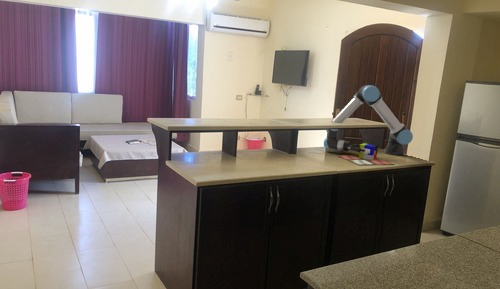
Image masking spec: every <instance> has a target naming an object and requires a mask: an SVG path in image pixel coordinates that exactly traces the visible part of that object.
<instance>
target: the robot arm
mask: <svg viewBox="0 0 500 289" xmlns="http://www.w3.org/2000/svg"><path fill="white" fill-rule="evenodd" d="M365 102H366V103H367V105H368V106H369V107H372V108H373V109H374V111H375V112H376V113H377V114H378V115H379V117H380V119H382V120H383V122H384V123H385V125H386V126H387V127H388V129H389V133H388V134H389V136H388V143H387V145H386V147H385V149H384V153H385V154H388V155H393V156H405V152H406V150H405V146H406V145H408V144H410V143H411V142H412V141H413V137H414V134H413V133H412V131H411V130H409V129H408V128H407V126H406V125H405V124H404V123H401V122H400V121H399V120H398V118H397V117H396V115H394V113H393V112H392V111H391V109H390V108H389V107H388V105H387V104H386V103H385V102H384V100H383V96H382V94H381V92H380V90H379V88H378V87H376V86H375V85H370V84H365V85H363V86H361V87H360V88H359V90H357V91H356V92H355V94H354V95H353V98H352V99H351V100H350V101H349V102H348V103H347V104H346V105H345V106H344V107H343V109H341V111H340V112H339V113H338V114H337V115H336V116H335V117H334V118H333V119H332V120H331V121H330V122H335V123H342V124H344V122H345V121H346V120H347V119H348V118H349V117H350V116H351V115H353V113H354V112H355V111H356V110H357V109H358V108H359V107H360V106H361V105H364V103H365ZM325 131H326V132H327V137H326V138H324V140H323V147H324V148H326V149H330V150H331V149H332V150H338V151H339V152H340V151H343V152H349V151H354V152H357V153H358V154H359V153H360V151H361V152H365V153H370V149H364V148H360V144H355V143H352V144H351V142H350V141H349V140H341V139H338V137H339V136H338V135H339V129H331V130H326V129H325ZM404 145H405V146H404Z"/></svg>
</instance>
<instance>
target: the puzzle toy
mask: <svg viewBox="0 0 500 289" xmlns="http://www.w3.org/2000/svg"><path fill="white" fill-rule="evenodd" d="M359 145H360V148H364V149H370V153H365V152H361V151H360V153H359V152H358V157H359V158H361V159H364V160H377V157H378V150H379V144H372V143H366V142H364V143H361V144H359Z"/></svg>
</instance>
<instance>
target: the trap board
mask: <svg viewBox="0 0 500 289" xmlns="http://www.w3.org/2000/svg"><path fill="white" fill-rule="evenodd" d="M336 156H337V157H338V158H341V159H343V160H346V161H348V162H350V163H352V164H354V163H355V164H354V165H358V166H395V164H394V163H392V162H390V161H386V160H384V159H373V160H368V159H363V158H359V156H356V155H354V154H353V155H352V154H350V155H349V154H348V155H343V154H342V155H340V154H338V155H336Z"/></svg>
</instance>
